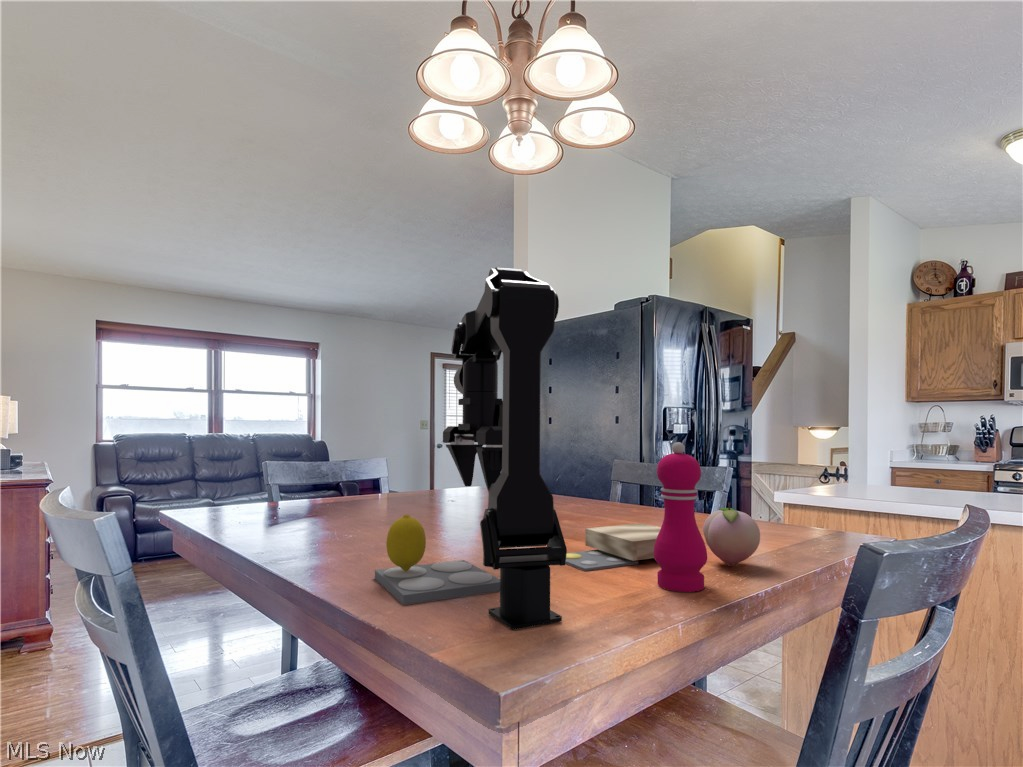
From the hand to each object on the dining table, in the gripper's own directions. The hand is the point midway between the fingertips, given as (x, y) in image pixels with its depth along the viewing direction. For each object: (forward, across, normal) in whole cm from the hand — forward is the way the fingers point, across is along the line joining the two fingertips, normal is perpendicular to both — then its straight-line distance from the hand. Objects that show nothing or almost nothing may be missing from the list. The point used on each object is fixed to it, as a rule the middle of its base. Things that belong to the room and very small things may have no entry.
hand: (479, 488), depth 92 cm
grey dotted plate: (+12, -6, -18) cm, 22 cm away
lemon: (+11, -5, +14) cm, 18 cm away
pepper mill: (+12, -24, -20) cm, 34 cm away
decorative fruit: (+12, -19, -36) cm, 42 cm away
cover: (+12, -6, -28) cm, 31 cm away
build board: (+12, -8, +10) cm, 18 cm away
